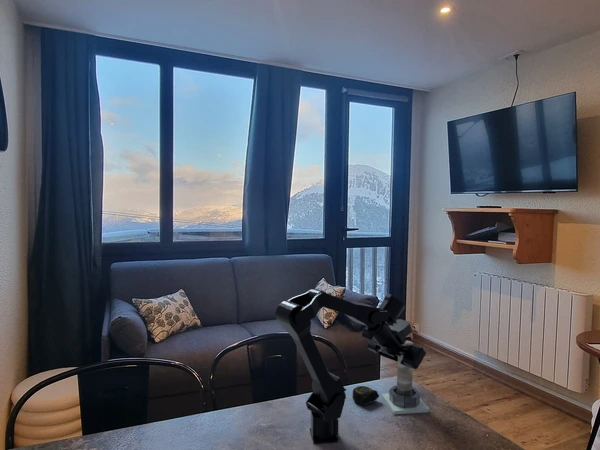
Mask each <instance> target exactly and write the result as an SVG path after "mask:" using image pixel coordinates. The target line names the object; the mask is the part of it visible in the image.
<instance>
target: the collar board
mask: <svg viewBox="0 0 600 450" xmlns="http://www.w3.org/2000/svg"><path fill="white" fill-rule="evenodd" d="M380 397H381V399H382V400H383V401H384V403H385V404H386V405H387V407H388V409H389V410H390V411H391V413H392V414H393V415H405V414H419V413H421V414H422V413H430V408H429V407H428V405H427V404H426V403H425V402H424V401H423V400H422V399H421V398H420V404H419V405H418V406H417V407H415V408H402V407H399V406H396V405H394V404H392V402H391V401H390V400H389V392H387V393H381V395H380ZM404 397H407V396H404Z"/></svg>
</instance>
